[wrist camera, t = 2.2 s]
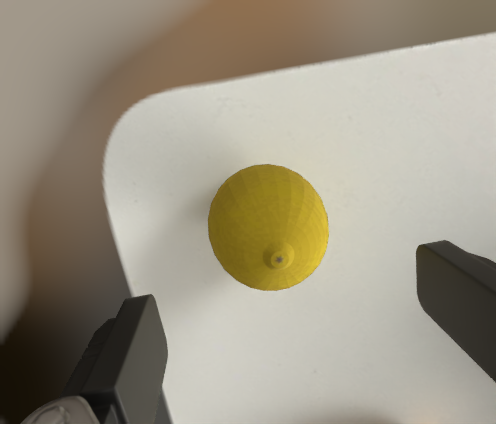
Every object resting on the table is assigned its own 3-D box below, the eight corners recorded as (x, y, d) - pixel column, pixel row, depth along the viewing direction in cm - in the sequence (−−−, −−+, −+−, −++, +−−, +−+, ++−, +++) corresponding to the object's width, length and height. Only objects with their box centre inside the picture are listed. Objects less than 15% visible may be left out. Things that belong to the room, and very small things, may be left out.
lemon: (285, 138, 19) (326, 160, 12) (317, 224, 21) (372, 293, 13) (194, 177, 20) (177, 223, 12) (232, 258, 21) (239, 345, 14)
